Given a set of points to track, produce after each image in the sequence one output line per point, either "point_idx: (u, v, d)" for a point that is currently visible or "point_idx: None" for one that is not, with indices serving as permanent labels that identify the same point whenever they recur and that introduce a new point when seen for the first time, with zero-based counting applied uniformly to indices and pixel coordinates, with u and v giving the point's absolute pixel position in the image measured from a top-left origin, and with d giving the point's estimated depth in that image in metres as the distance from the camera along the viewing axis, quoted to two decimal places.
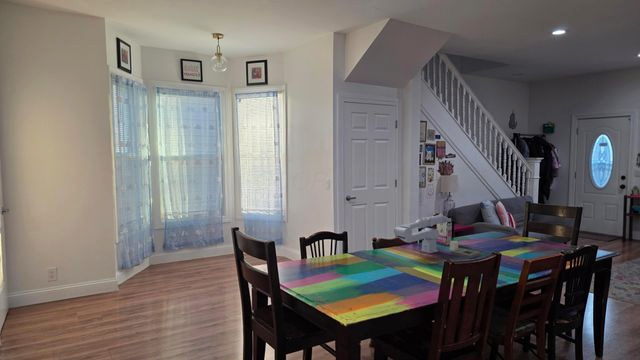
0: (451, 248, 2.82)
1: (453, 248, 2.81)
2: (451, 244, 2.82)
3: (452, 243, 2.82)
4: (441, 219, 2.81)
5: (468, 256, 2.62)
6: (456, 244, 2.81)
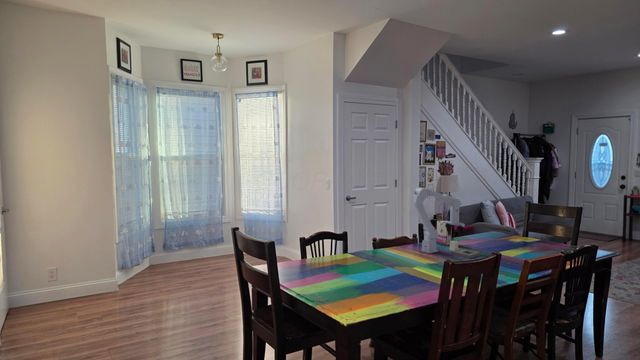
0: (451, 248, 2.82)
1: (453, 248, 2.81)
2: (451, 244, 2.82)
3: (452, 243, 2.82)
4: (458, 219, 2.80)
5: (468, 256, 2.62)
6: (456, 244, 2.81)
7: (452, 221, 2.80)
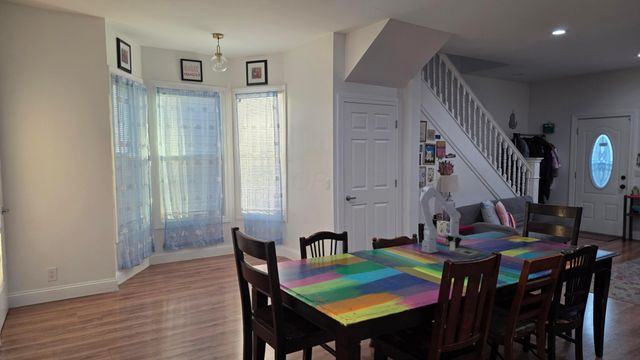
0: (451, 248, 2.82)
1: (453, 248, 2.81)
2: (451, 244, 2.82)
3: (452, 243, 2.82)
4: (458, 231, 2.80)
5: (468, 256, 2.62)
6: None
7: (452, 233, 2.81)
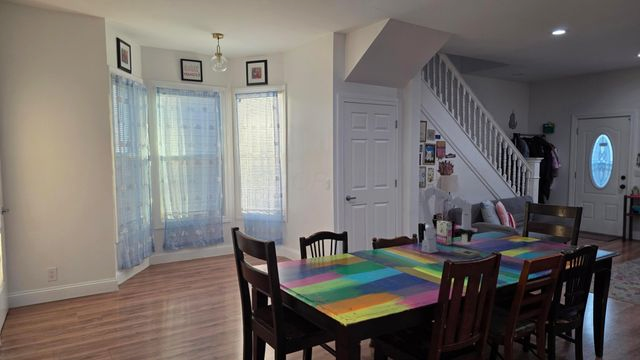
0: (463, 241, 2.70)
1: (465, 241, 2.69)
2: (463, 238, 2.70)
3: (464, 236, 2.69)
4: (470, 223, 2.68)
5: (468, 256, 2.62)
6: None
7: (464, 226, 2.68)
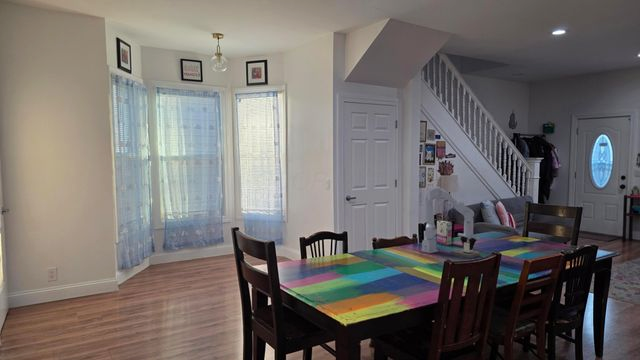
0: (465, 249, 2.68)
1: (467, 249, 2.67)
2: (465, 246, 2.68)
3: (466, 244, 2.67)
4: (472, 231, 2.66)
5: (468, 256, 2.62)
6: None
7: (466, 234, 2.66)
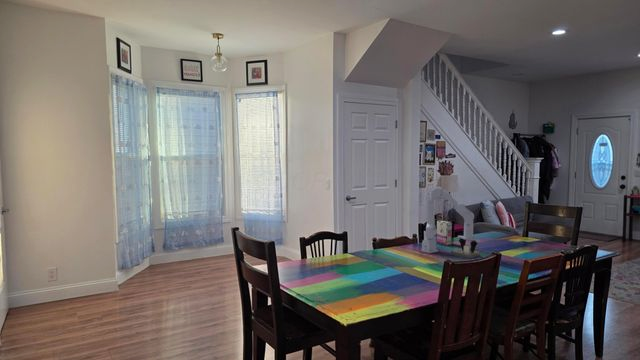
0: None
1: (467, 253, 2.67)
2: (465, 249, 2.68)
3: (466, 247, 2.67)
4: (472, 234, 2.66)
5: (468, 256, 2.62)
6: (470, 248, 2.67)
7: (466, 236, 2.66)
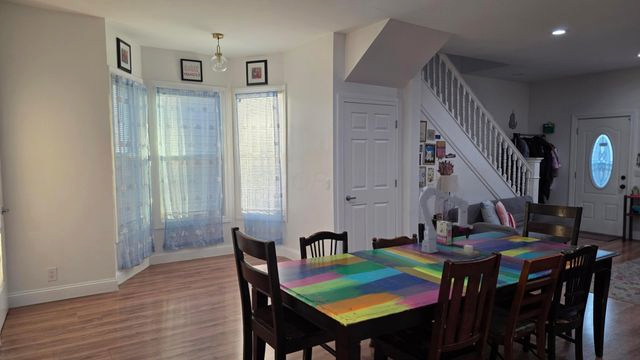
0: None
1: (467, 253, 2.67)
2: (465, 249, 2.68)
3: (466, 247, 2.67)
4: (466, 220, 2.77)
5: (468, 256, 2.62)
6: (470, 248, 2.67)
7: (460, 223, 2.77)
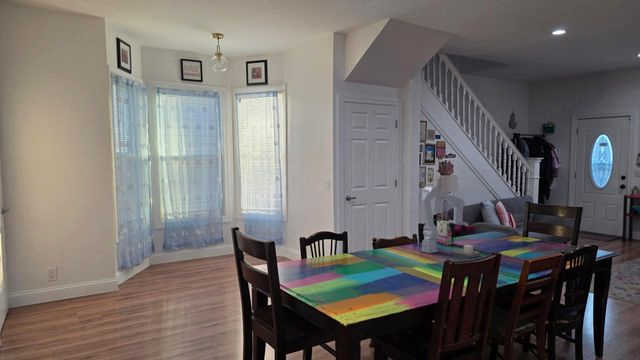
0: None
1: (467, 253, 2.67)
2: (465, 249, 2.68)
3: (466, 247, 2.67)
4: (461, 218, 2.86)
5: (468, 256, 2.62)
6: (470, 248, 2.67)
7: (456, 220, 2.86)
